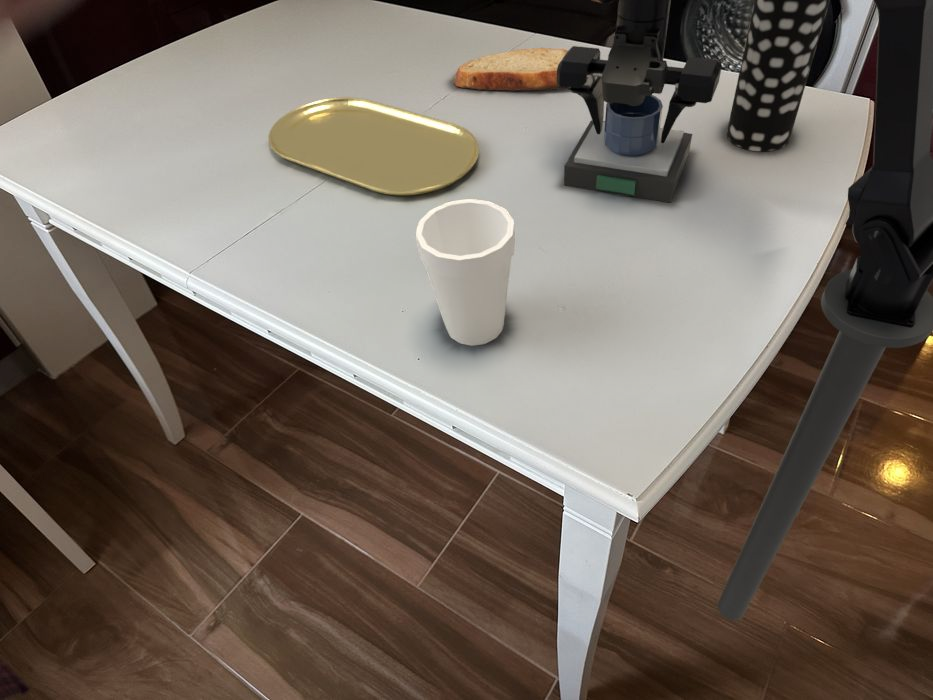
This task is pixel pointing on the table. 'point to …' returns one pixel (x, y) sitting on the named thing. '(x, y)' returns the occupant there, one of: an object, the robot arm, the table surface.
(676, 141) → the scale
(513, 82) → the bread slice
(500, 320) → the foam cup
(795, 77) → the white-spotted black cylinder
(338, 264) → the table surface
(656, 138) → the small blue cup
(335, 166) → the serving platter
